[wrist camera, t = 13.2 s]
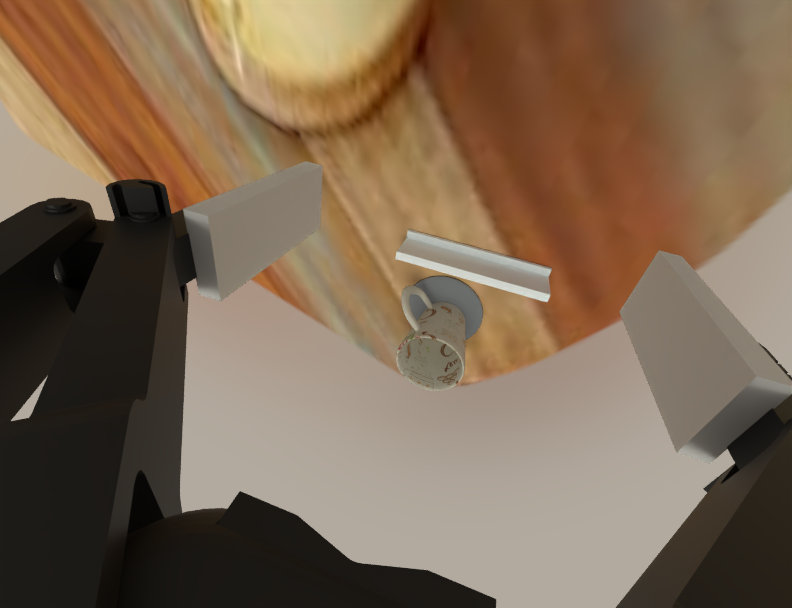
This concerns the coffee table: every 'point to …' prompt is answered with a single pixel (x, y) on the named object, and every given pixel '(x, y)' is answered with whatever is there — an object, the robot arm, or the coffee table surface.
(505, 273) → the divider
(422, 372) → the mug
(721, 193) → the coffee table surface
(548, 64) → the coffee table surface
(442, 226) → the coffee table surface
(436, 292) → the coaster
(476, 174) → the coffee table surface
